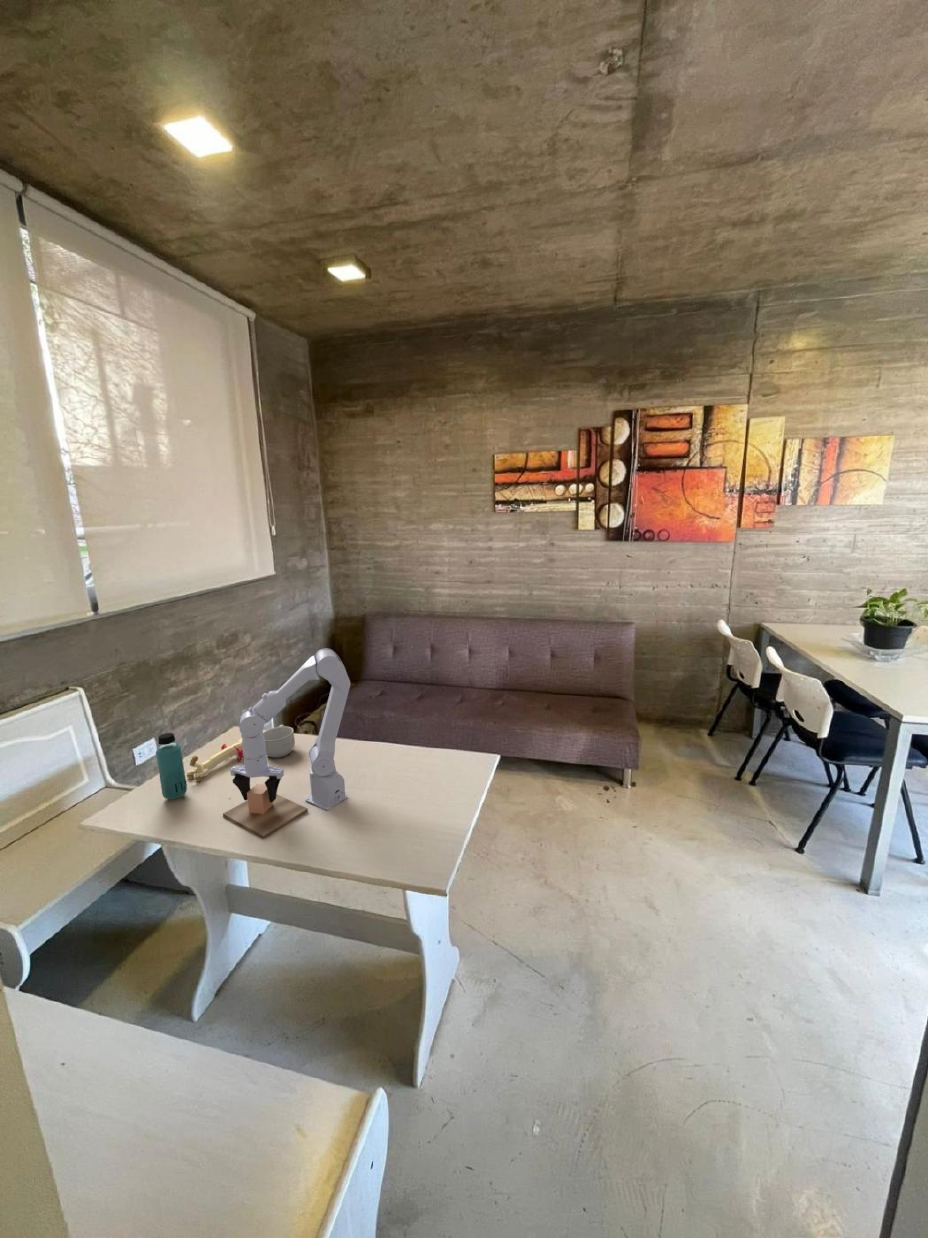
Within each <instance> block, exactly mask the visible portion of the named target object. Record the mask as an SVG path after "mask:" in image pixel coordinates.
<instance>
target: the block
mask: <svg viewBox="0 0 928 1238" xmlns="http://www.w3.org/2000/svg"><path fill="white" fill-rule="evenodd" d="M247 798H248V807H249V813H259V814H265V813H266V812H267V811H268V809H269V808H270V807H271V806H272V805H273V802H270V801H269V795H268V790H267V787H266V785H265V784H258V783H255V785H254V786H253V787H252V788H250V791H248V792H247Z"/></svg>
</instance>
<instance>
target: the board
mask: <svg viewBox="0 0 928 1238" xmlns="http://www.w3.org/2000/svg"><path fill="white" fill-rule="evenodd" d="M308 812H309V809H308V808H307V807H306V806H303V805H301V804H299V803H296V802H295V801H293V800H290V799H289V798H286V797H283V796H282V795H279V794H278V793H277V794H276V799H275V800H274V801H273V805H272V806H271V807H270V808H269V809H268V811H267V812H266V813H265V814H259V813H249V807H248V800H247V801H246V800H244V802H242V803H240V804H238V805H236V806H235V807H233V808H231V809H229V810H227V811H225V812H223V813H222V818H225V819H226V820H228V821H230V822H232V823H234V824H235V825H236V826H239V827H240V828H243V829H244V830H246V831H248V832H249V833H252V834H253V835H256V836H257V837H259V838H261V839H263V840H265V839H266V838H268V837H270V836H271V835H273V834H274V833H276V832H278V831H279V830H281V829H283V828H284V827H286V826H288V825H289V824H291V823H292V822H293V821H296V820H297V819H298V818H300V817H302V816H303V815H305V814H306V813H308Z"/></svg>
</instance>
